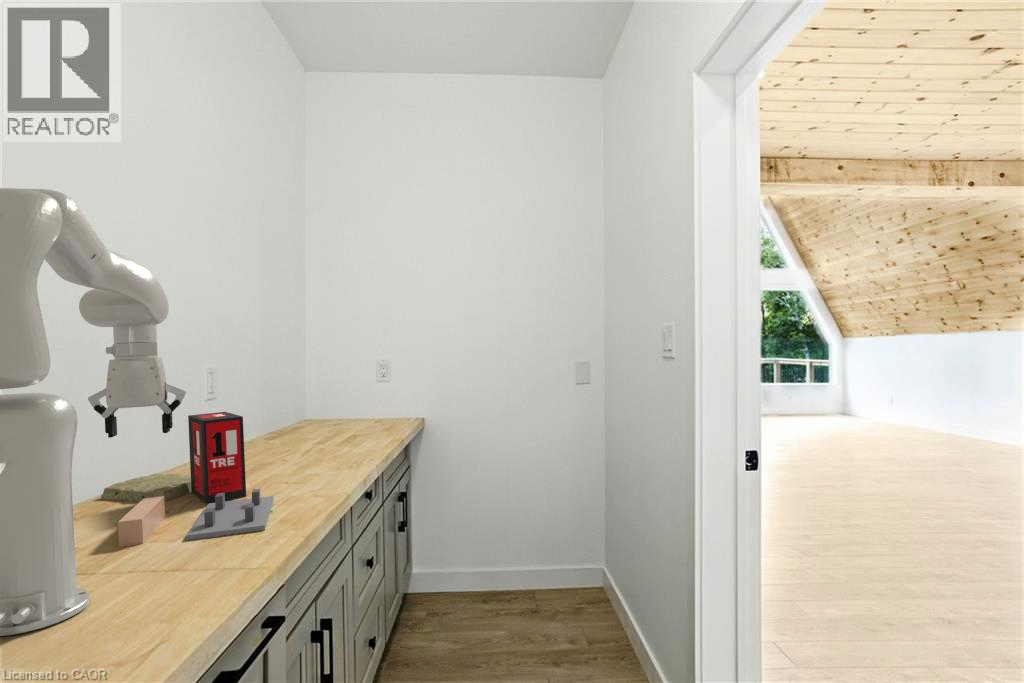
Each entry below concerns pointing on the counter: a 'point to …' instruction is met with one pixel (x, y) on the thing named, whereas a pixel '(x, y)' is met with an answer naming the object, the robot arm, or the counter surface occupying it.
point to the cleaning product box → (217, 456)
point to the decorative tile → (150, 487)
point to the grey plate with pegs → (232, 516)
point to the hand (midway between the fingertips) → (139, 434)
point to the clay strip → (141, 521)
